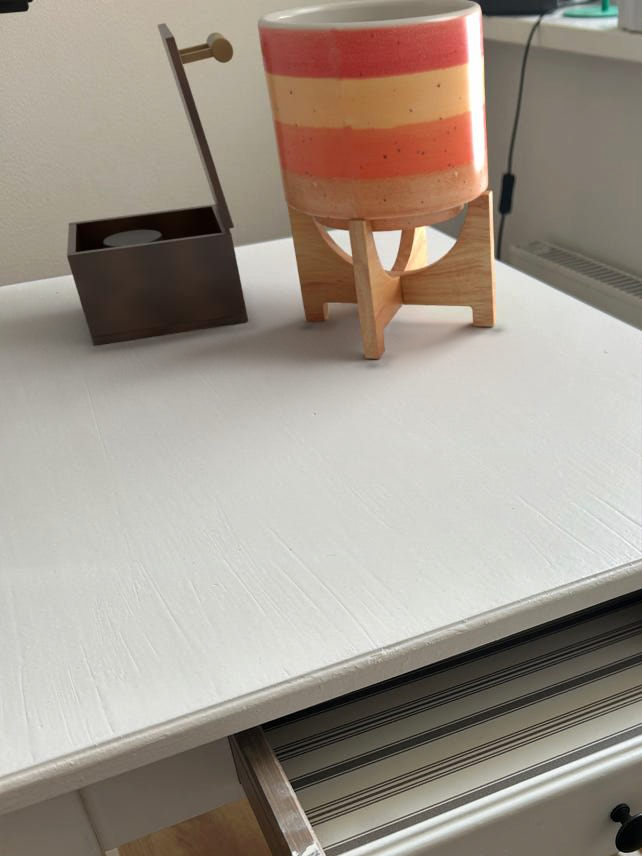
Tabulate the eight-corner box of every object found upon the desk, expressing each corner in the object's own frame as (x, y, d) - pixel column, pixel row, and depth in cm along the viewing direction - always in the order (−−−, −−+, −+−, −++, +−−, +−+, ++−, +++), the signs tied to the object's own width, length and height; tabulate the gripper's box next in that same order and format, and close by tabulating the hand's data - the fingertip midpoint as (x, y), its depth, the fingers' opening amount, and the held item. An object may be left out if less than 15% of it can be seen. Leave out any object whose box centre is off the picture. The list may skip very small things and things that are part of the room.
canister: (115, 319, 102) (95, 247, 97) (130, 300, 106) (112, 231, 102) (171, 316, 102) (153, 244, 97) (183, 297, 106) (167, 228, 102)
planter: (337, 287, 109) (299, 1, 93) (513, 290, 105) (505, -7, 89) (272, 355, 94) (212, 28, 77) (475, 363, 90) (457, 20, 74)
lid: (165, 38, 86) (229, 23, 86) (157, 24, 95) (215, 11, 96) (226, 229, 96) (283, 214, 97) (213, 200, 106) (265, 186, 106)
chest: (93, 345, 98) (66, 255, 93) (93, 306, 108) (68, 222, 103) (248, 321, 102) (231, 233, 96) (234, 285, 111) (218, 203, 106)
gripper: (-100, -244, 80) (-24, 3, 91) (-137, -273, 67) (-43, 20, 78) (-4, -247, 82) (60, -3, 92) (-21, -275, 69) (56, 12, 79)
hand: (13, 7), depth 85 cm, fingers open, 9 cm apart
